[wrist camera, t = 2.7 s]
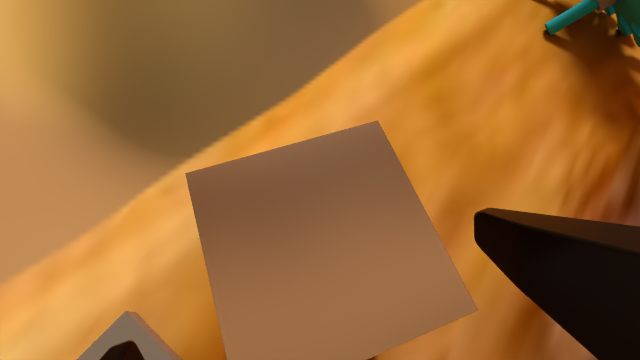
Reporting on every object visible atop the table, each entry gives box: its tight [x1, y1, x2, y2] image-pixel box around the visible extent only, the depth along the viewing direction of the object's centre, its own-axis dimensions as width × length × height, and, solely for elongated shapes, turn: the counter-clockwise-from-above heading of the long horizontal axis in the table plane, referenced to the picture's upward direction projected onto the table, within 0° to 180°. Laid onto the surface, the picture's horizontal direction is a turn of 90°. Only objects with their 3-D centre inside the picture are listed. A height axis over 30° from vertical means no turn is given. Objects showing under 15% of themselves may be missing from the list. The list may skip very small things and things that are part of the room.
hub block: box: [185, 121, 478, 360], centre depth 12 cm, size 5×5×10 cm
